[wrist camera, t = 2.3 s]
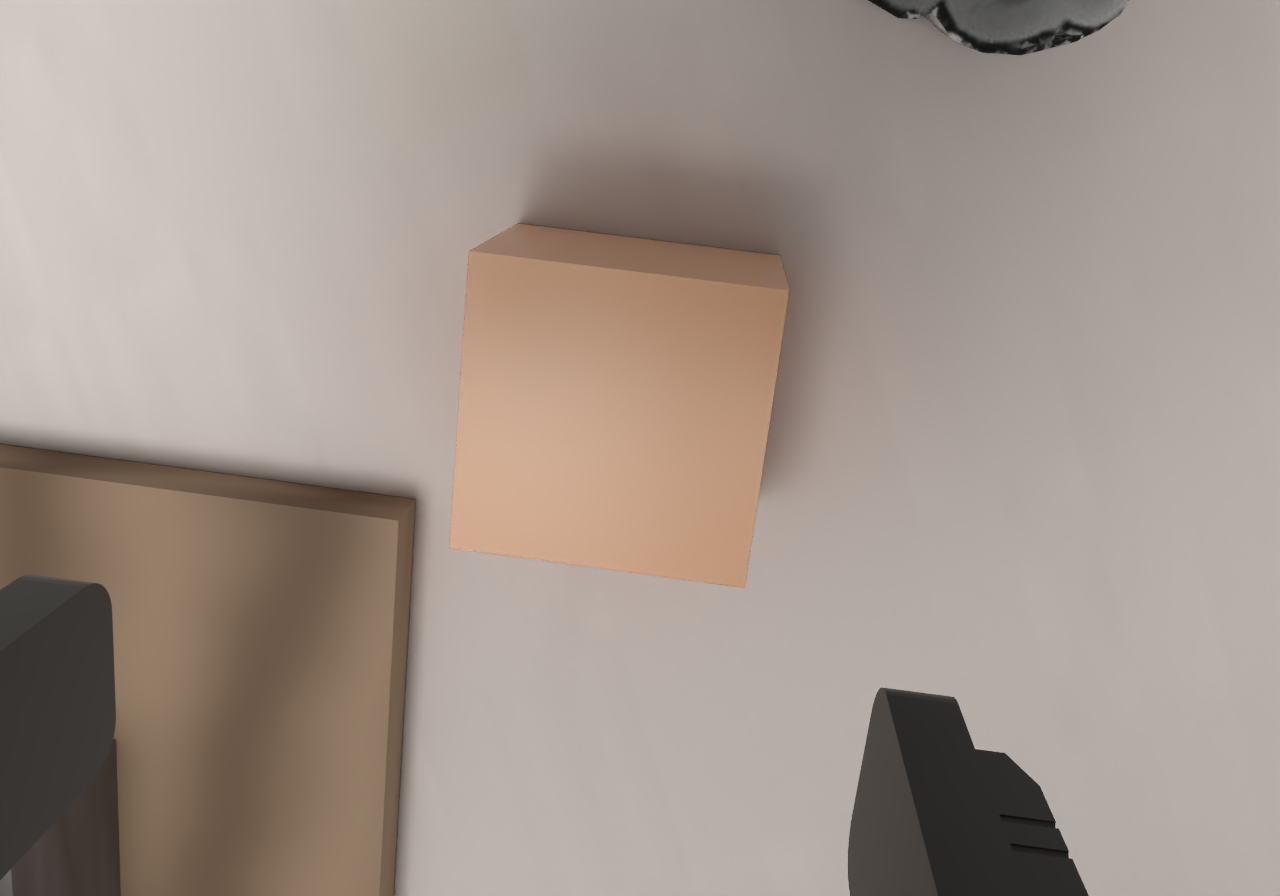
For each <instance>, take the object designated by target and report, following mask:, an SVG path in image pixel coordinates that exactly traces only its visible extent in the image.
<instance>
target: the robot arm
mask: <svg viewBox="0 0 1280 896" xmlns="http://www.w3.org/2000/svg"><path fill="white" fill-rule="evenodd" d="M115 725H116V701H115V673H114V645H113V618H112V604H111V599H110V596H109V593H108V591H107V590H106V588H105V587H104V586H103V585H101V584H99V583H92V582H84V581H77V580H69V579H61V578H54V577H46V576H39V575H29V574H27V575H23V576H21V577H19V578H17V579H16V580H14V581H13V582H11V583H10V584H8V585H7V586H5V587H4V588H3V589H1V590H0V880H1V879H2V878H3V877H4V876H5V875H6V874H7V873H8V871H9V870H10V869H11V868H12V867H13V866H14V865H15V864H16V863H17V862H18V861H19V860H20V859H21V857H22V856H23V855H24V854H25V853H26V852H27V851H28V850H29V849H30V848H31V847H32V846H33V845H34V844H35V842H36V841H37V840H38V839H39V838H40V837H41V836H42V835H43V834H44V833H45V832H46V831H47V830H48V829H49V827H50V826H51V825H52V824H53V823H54V822H55V821H56V820H57V819H58V818H59V817H60V816H61V815H62V813H63V812H64V811H65V810H66V809H67V808H68V807H69V806H70V805H71V804H72V803H73V802H74V801H75V800H76V798H77V797H78V796H79V795H80V794H81V793H82V792H83V791H84V790H85V789H86V788H87V787H88V786H89V785H90V783H91V782H92V781H93V780H94V779H95V778H96V776H97V775H98V774H99V772H100V771H101V769H102V767H103V765H104V763H105V761H106V759H107V757H108V754H109V751H110V748H111V745H112V741H113V738H114V732H115ZM1068 853H1069V851H1068V849H1067V846H1066V844H1065V842H1064V840H1063V837H1062V835H1061V833H1060V831H1059V829H1056V828H1055V819H1054V817H1053V815H1052V813H1051V810H1050V808H1049V806H1048V804H1047V801H1046V799H1045V797H1044V795H1043V792H1042V790H1041V788H1040V786H1039V785H1038V784H1037V783H1036V782H1035V781H1034V780H1033V779H1032V778H1031V777H1029V776H1028V775H1027V774H1026V773H1025V772H1024V771H1023V770H1022V769H1021V768H1020V767H1019V766H1018V765H1017V764H1016V763H1015V762H1014V761H1013V760H1012V759H1011V758H1010V757H1008V756H1007V755H1006V754H1005V753H999V752H992V751H984V750H977V749H975V748H974V745H973V743H972V740H971V737H970V735H969V732H968V729H967V727H966V724H965V721H964V718H963V716H962V713H961V710H960V708H959V705H958V703H957V701H956V699H955V698H954V697H949V696H942V695H934V694H926V693H919V692H911V691H904V690H896V689H888V688H880V689H879V691H878V692H877V695H876V697H875V700H874V704H873V708H872V713H871V718H870V724H869V729H868V734H867V740H866V745H865V750H864V756H863V761H862V766H861V772H860V777H859V782H858V788H857V793H856V798H855V804H854V809H853V814H852V820H851V827H850V836H849V848H848V880H849V889H850V896H1088V893H1087V891H1086V889H1085V887H1084V884H1083V882H1082V880H1081V878H1080V875H1079V873H1078V871H1077V869H1076V866H1075V864H1074V862H1073V860H1072V859H1069V858H1068Z"/></svg>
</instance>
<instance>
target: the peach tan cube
mask: <svg viewBox="0 0 1280 896" xmlns="http://www.w3.org/2000/svg"><path fill="white" fill-rule="evenodd" d="M788 297H789V287H788V283H787V279H786V276H785V272H784V268H783V264H782V261H781V257H780V255H773V254H764V253H756V252H748V251H740V250H731V249H723V248H715V247H707V246H699V245H690V244H682V243H674V242H666V241H657V240H649V239H641V238H633V237H625V236H616V235H608V234H600V233H592V232H583V231H575V230H567V229H559V228H551V227H542V226H534V225H526V224H516V225H514V226H513V227H511V228H509V229H507V230H505V231H504V232H502V233H500V234H498V235H497V236H495V237H493V238H491V239H489V240H488V241H486V242H484V243H482V244H481V245H479V246H477V247H475V248H473V249H472V250H470V251H469V256H468V272H467V287H466V302H465V317H464V333H463V348H462V363H461V378H460V393H459V409H458V424H457V439H456V454H455V470H454V485H453V500H452V515H451V531H450V546H449V548H453V549H460V550H468V551H475V552H482V553H490V554H497V555H505V556H512V557H519V558H527V559H534V560H542V561H549V562H556V563H564V564H571V565H579V566H586V567H593V568H601V569H608V570H616V571H623V572H630V573H638V574H645V575H653V576H660V577H667V578H675V579H682V580H690V581H697V582H704V583H712V584H719V585H727V586H734V587H741V588H745V584H746V577H747V571H748V564H749V557H750V551H751V544H752V537H753V531H754V524H755V517H756V511H757V504H758V497H759V491H760V484H761V477H762V471H763V464H764V457H765V451H766V444H767V437H768V431H769V424H770V417H771V411H772V404H773V397H774V391H775V384H776V377H777V370H778V364H779V357H780V350H781V344H782V337H783V330H784V324H785V317H786V310H787V304H788Z"/></svg>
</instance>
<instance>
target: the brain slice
mask: <svg viewBox="0 0 1280 896" xmlns="http://www.w3.org/2000/svg"><path fill="white" fill-rule="evenodd" d="M869 1H870V2H872V3H874V4H876V5H877V6H879V7H881V8H882V9H884V10H886V11H887V12H889V13H891V14H892V15H894V16H896V17H897V18H906V19H917V18H922V17H925V18H927V19H928V20H929V21H930V22H931V23H932V24H933V25H934V26H936V27H937V28H938V29H939V30H940V31H941V32H942V33H944V34H946V35H948V36H949V37H950V38H951V39H952V40H953V41H955V42H957V43H960V44H962V45H964V46H967V47H970V48H972V49H975V50H977V51H980V52H983V53H997V54H1011V55H1023V54H1028V53H1033V52H1037V51H1041V50H1044V49H1048V48H1052V47H1056V46H1060V45H1064V44H1068V43H1072V42H1075V41H1078V40H1079V39H1081V38H1083V37H1085V36H1088V35H1090V34H1092V33H1094V32H1096V31H1098V30H1100V29H1101V28H1102V27H1104V26H1105V25H1106V24H1108V23H1109V22H1110V21H1112V20H1113V19H1114V18H1115V17H1117V16H1118V15H1119V14H1121V12H1122V10H1123V9H1124V7H1125V5H1126V4H1127V2H1128V0H869ZM1061 37H1062V38H1061Z"/></svg>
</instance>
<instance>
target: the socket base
mask: <svg viewBox="0 0 1280 896" xmlns="http://www.w3.org/2000/svg"><path fill="white" fill-rule="evenodd" d="M415 503H416V499H409V498H401V497H394V496H386V495H379V494H371V493H364V492H356V491H349V490H341V489H334V488H326V487H319V486H311V485H304V484H296V483H289V482H281V481H274V480H266V479H259V478H251V477H244V476H236V475H229V474H221V473H214V472H206V471H199V470H191V469H184V468H176V467H169V466H161V465H154V464H146V463H139V462H131V461H124V460H116V459H109V458H101V457H94V456H86V455H79V454H71V453H64V452H56V451H49V450H41V449H34V448H26V447H19V446H11V445H4V444H0V590H1V589H3V588H4V587H5V586H7V585H8V584H10V583H11V582H13V581H14V580H16V579H17V578H19V577H21V576H23V575H27V574H29V575H39V576H46V577H54V578H61V579H69V580H77V581H84V582H92V583H99V584H101V585H103V586H104V587H105V588H106V590H107V591H108V593H109V596H110V599H111V604H112V618H113V645H114V673H115V701H116V725H115V732H114V738H113V741H112V745H111V748H110V751H109V754H108V757H107V759H106V761H105V763H104V765H103V767H102V769H101V771H100V772H99V774H98V775H97V776H96V778H95V779H94V780H93V781H92V782H91V783H90V785H89V786H88V787H87V788H86V789H85V790H84V791H83V792H82V793H81V794H80V795H79V796H78V797H77V798H76V800H75V801H74V802H73V803H72V804H71V805H70V806H69V807H68V808H67V809H66V810H65V811H64V812H63V813H62V815H61V816H60V817H59V818H58V819H57V820H56V821H55V822H54V823H53V824H52V825H51V826H50V827H49V829H48V830H47V831H46V832H45V833H44V834H43V835H42V836H41V837H40V838H39V839H38V840H37V841H36V842H35V844H34V845H33V846H32V847H31V848H30V849H29V850H28V851H27V852H26V853H25V854H24V855H23V856H22V857H21V859H20V860H19V861H18V862H17V863H16V864H15V865H14V866H13V867H12V868H11V869H10V870H9V871H8V873H7V874H6V875H5V876H4V877H3V878H2V879H1V880H0V896H394V882H395V863H396V845H397V827H398V809H399V791H400V773H401V755H402V737H403V719H404V701H405V683H406V665H407V647H408V629H409V611H410V593H411V575H412V557H413V539H414V521H415Z"/></svg>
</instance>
